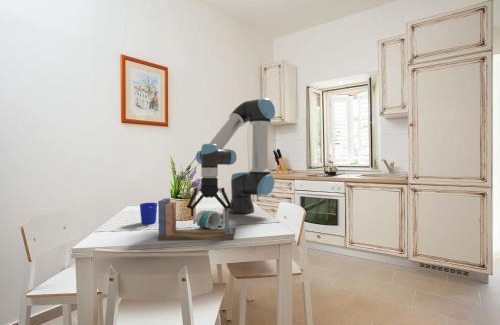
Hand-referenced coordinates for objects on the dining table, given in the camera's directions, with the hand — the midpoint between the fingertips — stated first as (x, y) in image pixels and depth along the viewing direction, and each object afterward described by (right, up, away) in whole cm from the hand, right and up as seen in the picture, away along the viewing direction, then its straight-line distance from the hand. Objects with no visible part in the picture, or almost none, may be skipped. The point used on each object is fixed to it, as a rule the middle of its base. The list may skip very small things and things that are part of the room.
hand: (209, 223), depth 134 cm
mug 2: (-2, +1, +5) cm, 5 cm away
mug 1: (-31, -3, +9) cm, 32 cm away
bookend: (+11, -1, -13) cm, 17 cm away
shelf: (-3, -2, -13) cm, 14 cm away
